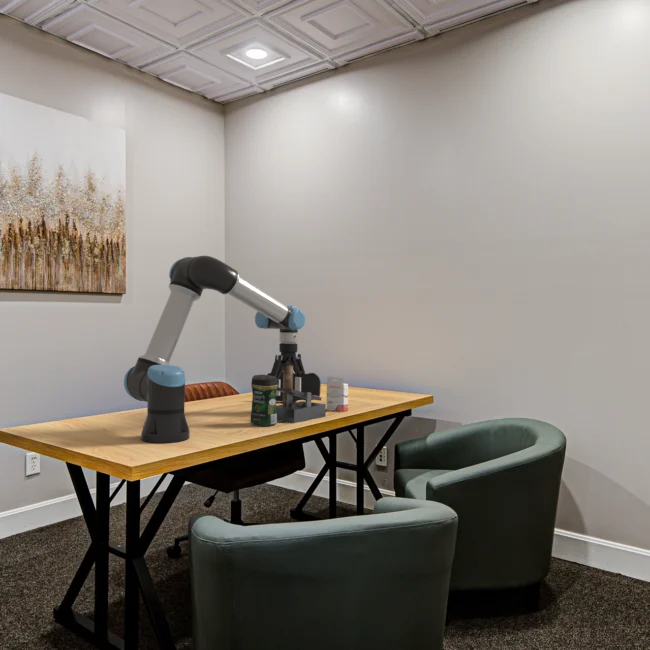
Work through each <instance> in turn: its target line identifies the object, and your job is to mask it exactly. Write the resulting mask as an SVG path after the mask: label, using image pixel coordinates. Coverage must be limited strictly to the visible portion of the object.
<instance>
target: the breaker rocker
mask: <svg viewBox="0 0 650 650" xmlns="http://www.w3.org/2000/svg"><path fill="white" fill-rule="evenodd" d="M277 391H280V392H283V393H287V394H290V395H294V396H297V397H301V398H305V395H306V393H304V392H300V391H297V390H293V389H287V388H278V387H277ZM311 401H322V397H321V396H320V397H319V396H316V395H311Z"/></svg>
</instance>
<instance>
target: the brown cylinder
mask: <svg viewBox="0 0 650 650" xmlns="http://www.w3.org/2000/svg"><path fill="white" fill-rule="evenodd" d="M293 373H294V370H293V365H287V366H286V367H285V368H284V370H283V388H287V389H293ZM283 404H287V393H283V402H282V405H283Z"/></svg>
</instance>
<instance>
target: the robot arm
mask: <svg viewBox="0 0 650 650" xmlns="http://www.w3.org/2000/svg"><path fill="white" fill-rule="evenodd" d="M168 273H169V275H168V276H169V278H170V280H169V281H170V283H169V285H168V288H169V290H170V294H169V296H168V299H167V301H166V303H165V306H164V308H163V310H162V313H161V315H160V317H159V320H158V323H157V325H156V327H155V330H154V332H153V334H152V337H151V339H150V341H149V344H148V346H147V348H146V351H145V353H144V354H143V355H141V356H138V358H137V360H136V363H135V365H133V366H132V367H130V368H129V369H128V371H127V372H126V373H125V375H124V379H123V386H124V389H125V392H126V393H127V394H128V396H130V397H131V398H133V399H134V400H136V401H139V402H146V403H147V408H146V410H147V414H146V417H145V420H144V422H143V423H144V424H143V425H142V426H143V427H142V430H141V434H140V436H141V437H140V439H141V441H143V442H148V443H156V444H157V443H159V444H160V443H161V444H162V443H163V444H164V443H165V444H166V443H177V442H183V441H187V440H189V439H190V433H191V432H190V428H189V425H188V422H187V417H186V415H185V403H186V401H185V400H186V399H185V398H186V397H185V395H186V375H185V374H186V373H185V370H184V369H183V368H182V367H180V366H177V365H170V361H171V358H172V356H173V353H174V351H175V348H176V346H177V344H178V341H179V338H180V336H181V334H182V331H183V329H184V327H185V324H186V322H187V320H188V316H189V314H190V311H191V309H192V307H193V305H194V302H195V301H199V300H200V299H201V296H202V294H203V291H204V290H213V291H216V292H218V293H220V294H222V295H230V296H231V297H232V298H235V300H238V301H240V302H241V303H243V304H244V305H246V306H248V307H249V308H251V309H253V310H255V311H256V313H255V315H254V322H255V325H256V327H257V328H259V329H264V330H267V329H270V330H273V329H274V330H279V346H278V347H279V352H280V354H275V356H274V357H275V358H274V363H273V365H272V368H271V372H270V373H271V374H270V376H275V377H276V378H277V383H278V388H280V380H279V378H280V376H281V374H282V372H283V370H284V368H285V367H286V366H287V365H293V373H295V374H296V376H297V377H295V390H297V391H300V392H301V383H302V377H304V375H305V374H306V370H305V368H304V365H303V361H302V356H301V355H302V354H301V353H298V345H299V344H298V330H300V329H302V328H303V327H304V326H305V324H306V315H305V313H304V312H303V311H302V310H300V309H299V308H298V306H296V305H286V304H284V303H282V302H281V301H279V300H278V299H277V298H275V297H273V296H271V295H270V294H269V293H267V292H265V291H264V290H263V289H261V288H259V287H258V286H256V285H254V284H253V283H251V282H250V281H248V280H247V279H245V278H243V277H241V275H239V272H238V271H237V270H236V269H234V268H233V267H232V266H230V265H228V264H227V263H225V262H223V261H221V260H220V259H217V258H216V257H213V256H209V255H199V256H187V257H183V258H181V259H178V260H176V261H175V262H174V263H173V264H172V265H171V267H170V269H169V272H168ZM276 396H280V391H276Z"/></svg>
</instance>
